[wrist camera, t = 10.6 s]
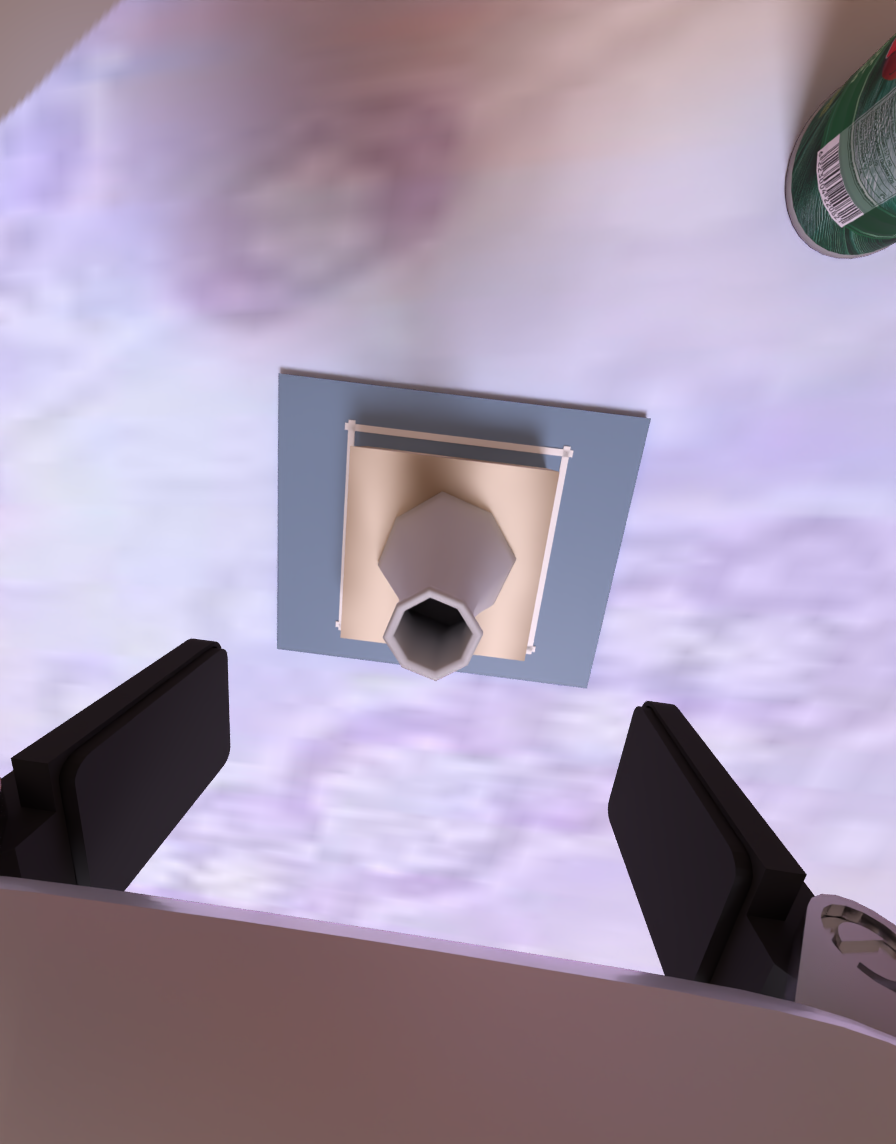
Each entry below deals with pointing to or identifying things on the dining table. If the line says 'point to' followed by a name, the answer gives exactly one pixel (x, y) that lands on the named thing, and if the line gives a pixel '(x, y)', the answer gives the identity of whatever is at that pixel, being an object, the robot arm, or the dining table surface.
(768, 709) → the dining table surface
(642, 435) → the board
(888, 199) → the canned tomato
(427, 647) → the flask
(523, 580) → the birch plinth
